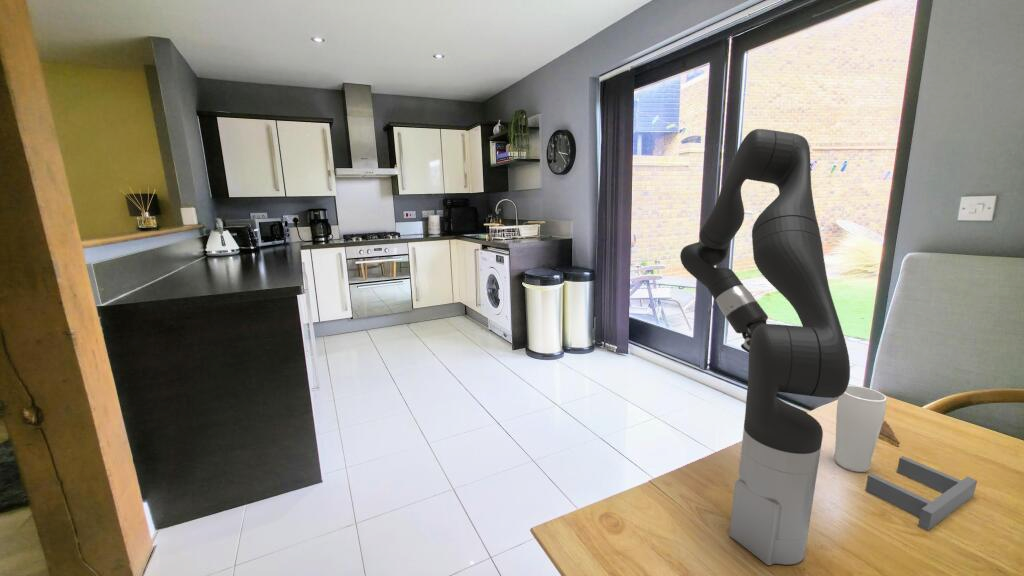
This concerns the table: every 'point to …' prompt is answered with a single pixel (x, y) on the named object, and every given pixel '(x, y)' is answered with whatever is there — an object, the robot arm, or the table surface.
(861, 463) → the white cup
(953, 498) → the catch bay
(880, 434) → the shard
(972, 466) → the table surface
